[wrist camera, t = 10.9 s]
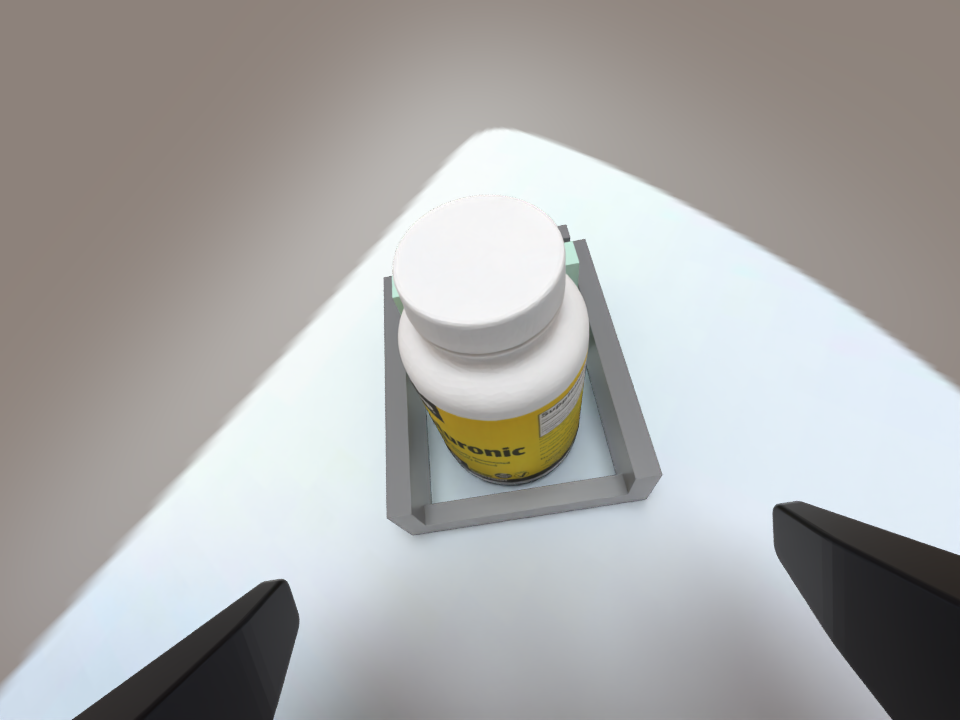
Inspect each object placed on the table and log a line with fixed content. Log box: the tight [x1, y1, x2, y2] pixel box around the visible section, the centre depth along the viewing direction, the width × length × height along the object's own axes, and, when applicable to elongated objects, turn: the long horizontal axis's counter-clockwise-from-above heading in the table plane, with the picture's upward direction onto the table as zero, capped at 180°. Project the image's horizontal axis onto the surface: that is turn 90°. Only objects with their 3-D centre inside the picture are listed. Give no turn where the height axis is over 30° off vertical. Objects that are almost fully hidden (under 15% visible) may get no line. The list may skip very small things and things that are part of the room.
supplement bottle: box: [392, 195, 589, 485], centre depth 15 cm, size 5×5×10 cm
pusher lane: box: [384, 225, 662, 535], centre depth 18 cm, size 10×9×4 cm
